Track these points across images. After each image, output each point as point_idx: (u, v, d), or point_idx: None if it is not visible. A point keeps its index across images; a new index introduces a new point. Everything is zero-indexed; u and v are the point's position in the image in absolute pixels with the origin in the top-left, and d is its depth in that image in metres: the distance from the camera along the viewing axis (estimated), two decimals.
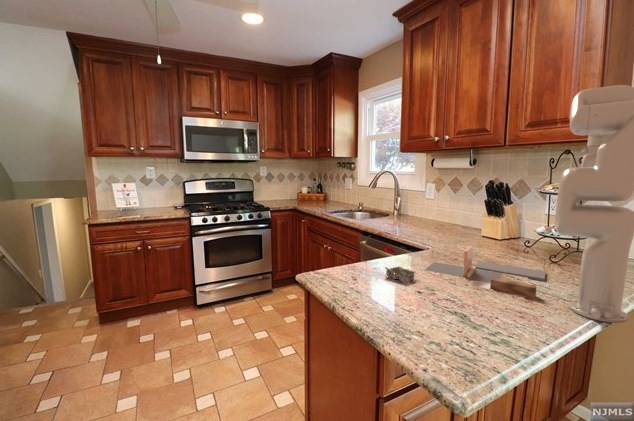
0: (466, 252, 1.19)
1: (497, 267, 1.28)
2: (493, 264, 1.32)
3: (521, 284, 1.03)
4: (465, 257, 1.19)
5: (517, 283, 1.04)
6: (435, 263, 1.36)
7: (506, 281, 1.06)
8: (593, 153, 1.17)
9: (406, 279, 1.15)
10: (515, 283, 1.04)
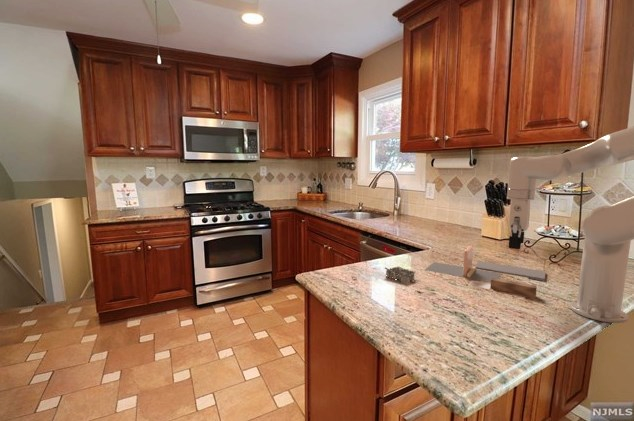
0: (466, 252, 1.19)
1: (497, 267, 1.28)
2: (493, 264, 1.32)
3: (521, 284, 1.03)
4: (465, 257, 1.19)
5: (517, 283, 1.04)
6: (435, 263, 1.36)
7: (506, 281, 1.06)
8: (531, 198, 0.98)
9: (407, 279, 1.15)
10: (515, 283, 1.04)
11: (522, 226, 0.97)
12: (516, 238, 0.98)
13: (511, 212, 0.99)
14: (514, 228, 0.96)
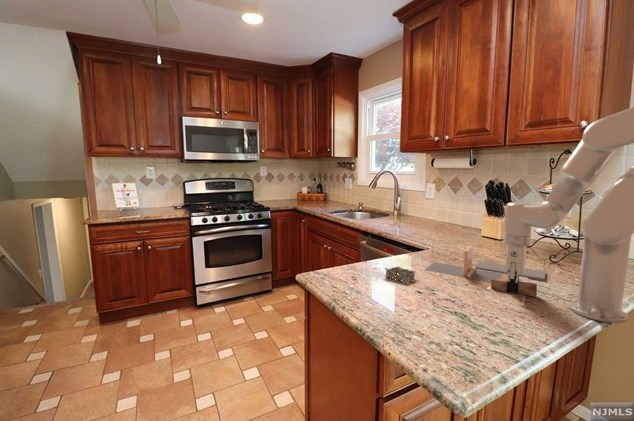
0: (466, 252, 1.19)
1: (497, 267, 1.28)
2: (493, 264, 1.32)
3: (521, 283, 1.03)
4: (465, 257, 1.19)
5: None
6: (435, 263, 1.36)
7: (506, 280, 1.06)
8: (527, 244, 1.00)
9: (407, 279, 1.15)
10: None
11: (518, 272, 0.99)
12: (513, 284, 1.03)
13: (507, 257, 1.01)
14: (511, 279, 1.00)
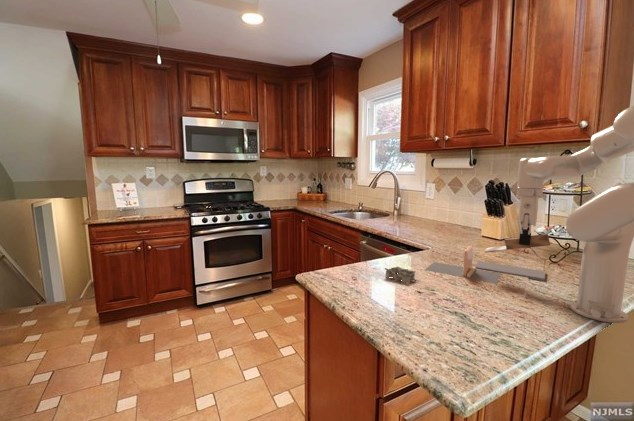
0: (466, 252, 1.19)
1: (497, 267, 1.28)
2: (493, 264, 1.32)
3: (533, 236, 1.09)
4: (465, 257, 1.19)
5: None
6: (435, 263, 1.36)
7: (519, 237, 1.11)
8: (540, 196, 1.05)
9: (408, 279, 1.15)
10: None
11: (531, 222, 1.04)
12: (526, 235, 1.08)
13: (521, 209, 1.06)
14: (524, 229, 1.06)
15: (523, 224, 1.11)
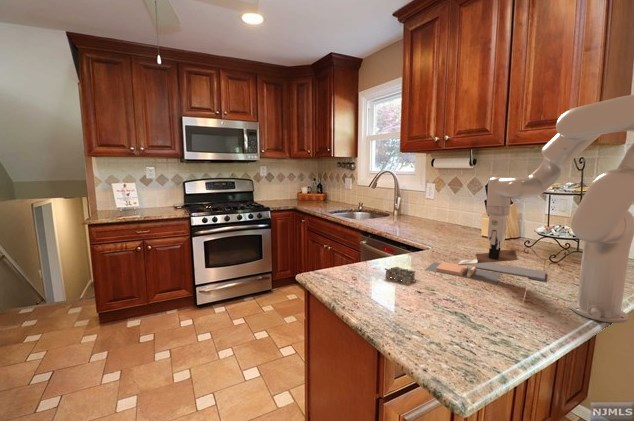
0: (437, 268, 1.26)
1: (497, 267, 1.28)
2: (493, 264, 1.32)
3: (502, 251, 1.15)
4: (442, 270, 1.25)
5: None
6: (435, 263, 1.36)
7: None
8: (507, 214, 1.12)
9: (408, 279, 1.15)
10: None
11: (498, 238, 1.11)
12: (495, 250, 1.15)
13: (489, 226, 1.13)
14: (492, 245, 1.12)
15: None
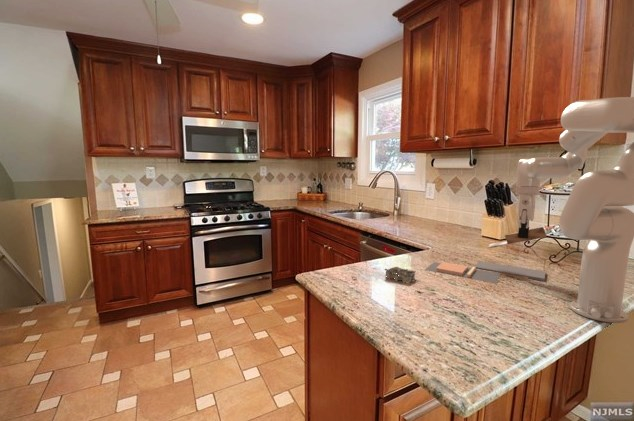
0: (437, 268, 1.26)
1: (497, 267, 1.28)
2: (493, 264, 1.32)
3: (530, 229, 1.20)
4: (442, 270, 1.25)
5: None
6: (435, 263, 1.36)
7: None
8: (536, 194, 1.16)
9: (409, 279, 1.15)
10: None
11: (529, 217, 1.16)
12: (524, 229, 1.19)
13: (519, 205, 1.17)
14: (522, 223, 1.17)
15: (522, 219, 1.23)
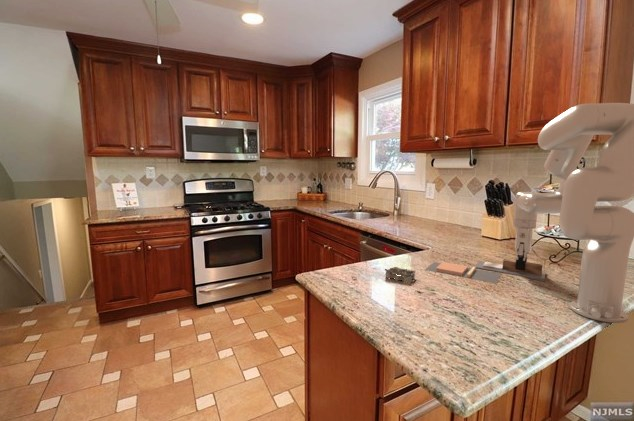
0: (437, 268, 1.26)
1: None
2: None
3: (529, 263, 1.22)
4: (442, 270, 1.25)
5: (526, 262, 1.22)
6: (435, 263, 1.36)
7: None
8: (534, 227, 1.18)
9: (409, 279, 1.15)
10: None
11: (526, 250, 1.18)
12: (521, 261, 1.20)
13: (517, 238, 1.19)
14: (520, 255, 1.18)
15: None
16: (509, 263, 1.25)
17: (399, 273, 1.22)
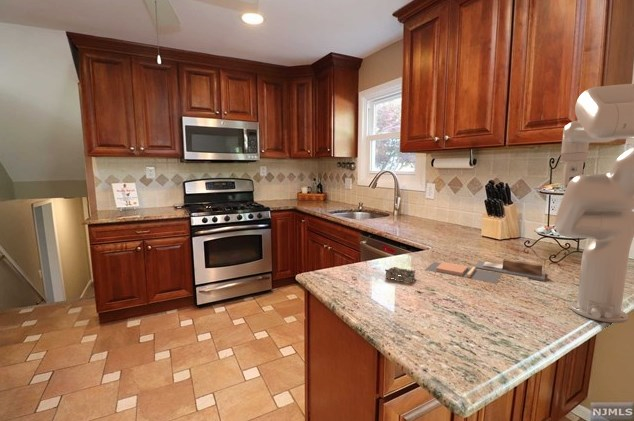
0: (437, 268, 1.26)
1: None
2: None
3: (529, 263, 1.22)
4: (442, 270, 1.25)
5: (526, 262, 1.22)
6: (435, 263, 1.36)
7: (516, 261, 1.24)
8: (585, 160, 1.09)
9: (410, 279, 1.15)
10: (524, 262, 1.22)
11: None
12: None
13: (566, 173, 1.10)
14: None
15: None
16: (509, 263, 1.25)
17: (399, 273, 1.22)
